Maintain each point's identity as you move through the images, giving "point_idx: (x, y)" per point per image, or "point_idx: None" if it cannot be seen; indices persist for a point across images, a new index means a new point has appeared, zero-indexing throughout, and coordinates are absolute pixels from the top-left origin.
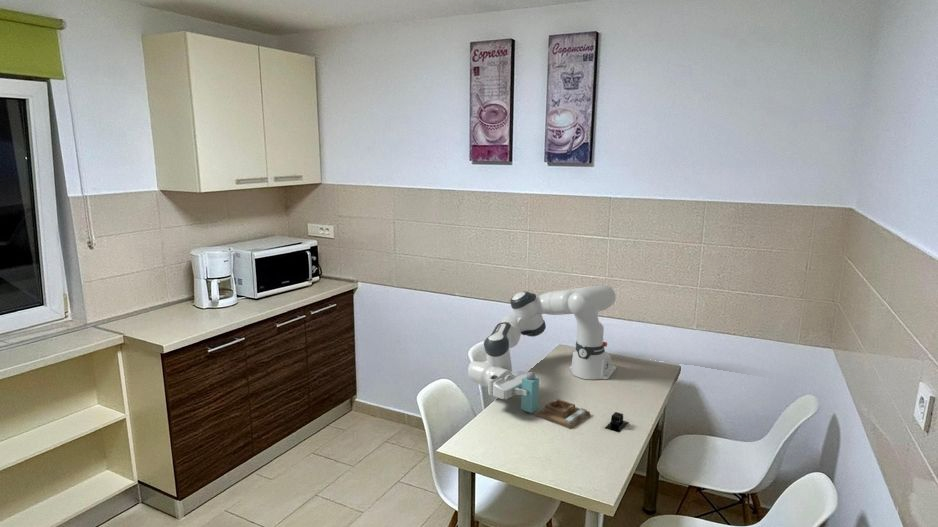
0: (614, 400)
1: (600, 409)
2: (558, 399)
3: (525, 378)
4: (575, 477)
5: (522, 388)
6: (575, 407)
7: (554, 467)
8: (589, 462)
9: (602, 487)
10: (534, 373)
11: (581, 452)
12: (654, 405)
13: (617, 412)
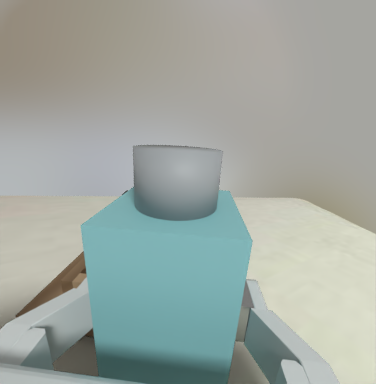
0: (3, 225)
1: (65, 232)
2: (72, 272)
3: (208, 223)
4: (309, 215)
5: (231, 336)
6: (82, 254)
7: (329, 231)
8: (264, 213)
9: (289, 202)
10: (157, 145)
11: (254, 221)
12: (37, 197)
13: (123, 193)
